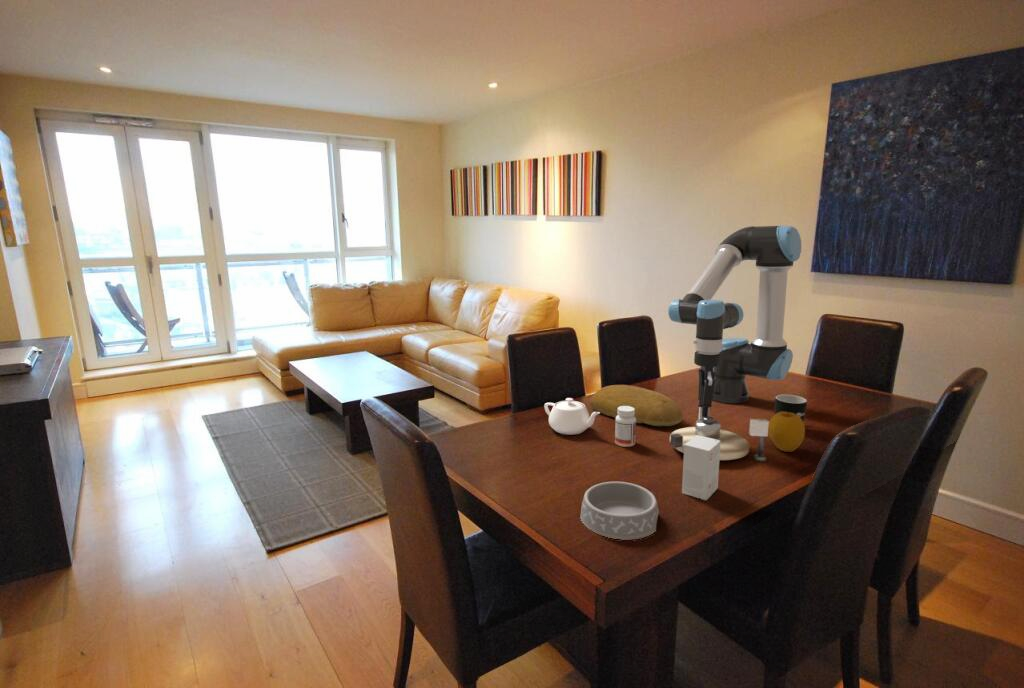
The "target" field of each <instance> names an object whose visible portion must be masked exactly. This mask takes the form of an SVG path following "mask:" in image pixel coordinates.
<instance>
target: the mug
mask: <svg viewBox="0 0 1024 688" xmlns="http://www.w3.org/2000/svg"><path fill="white" fill-rule="evenodd" d="M807 404H808V401H807V399H806V398H804V397H803V396H799V395H793V394H778V395H776V396H775V399H774V415H775V414H777V413H779V412H790V413H794V414H796V415H798V416H799V417H800V418H801V420H802V421H803V422H804V419H805V416H806V410H807Z"/></svg>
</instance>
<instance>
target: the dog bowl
mask: <svg viewBox="0 0 1024 688" xmlns="http://www.w3.org/2000/svg"><path fill="white" fill-rule="evenodd" d="M579 515H580V517H579V520H580V519H581V520H580V522H581V521H582V522H581V524H582V523H583V524H584V525H585V526H586V527H587V528H588V529H587V528H586V527H585V526H584V525H583V524H582V525H583V526H584V527H585V528H586V529H587V530H589V529H590V530H592V531H593V532H595V533H597V534H599V535H602V536H605V537H608V538H607V539H609V538H613V539H621V540H630V539H631V540H632V539H639V538H643V537H646V536H649V535H651V534H653V533H654V532H656V533H657V523H658V517H659V516H660V509H659V507H658V501H657V498H656V497H655V495H654V494H653V492H651V491H649V489H647V488H645V487H643V486H641V485H639V484H635V483H631V482H625V481H605V482H601V483H597V484H595V485H592V486H591V487H590V488H588V489H586V491H585V493H584V495H583V499H582V502H581V509H580V514H579ZM658 515H659V516H658ZM590 530H589V531H590ZM592 531H591V532H592ZM593 532H592V533H593ZM595 533H594V534H595ZM597 534H596V535H597ZM599 535H598V536H599ZM653 535H654V534H653ZM602 536H601V537H602ZM651 536H652V535H651ZM605 537H604V538H605ZM649 537H650V536H649ZM613 539H612V540H613ZM621 540H620V541H621Z"/></svg>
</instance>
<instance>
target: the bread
mask: <svg viewBox="0 0 1024 688" xmlns="http://www.w3.org/2000/svg"><path fill="white" fill-rule="evenodd" d="M589 404H590V406H591V407H592V408H593V410H595V412H600V413H599V414H603V415H605V416H607V417H611V418H613V419H616V416H617V415H618V414H617V410H618V407H620V406H630V407H633V408H634V409H635V415H634V416H635V418H636V424H645V425H650V426H653V427H663V426H664V427H672V426H677V425H678V424H680V423H681V422H682V420H683V418H684V412H683V410H682V408H681V407H680V405H679V404H677V403H676V402H675V401H674V400H672V399H671V398H669V397H668V396H666V395H664V394H663V393H661V392H657V391H655V390H652V389H647V388H644V387H640V386H635V385H629V384H612V385H606V386H604V387H601V388H599V389H598V390H596V392H594V394H593V395H591V397H590V399H589Z"/></svg>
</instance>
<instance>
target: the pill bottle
mask: <svg viewBox="0 0 1024 688" xmlns="http://www.w3.org/2000/svg"><path fill="white" fill-rule="evenodd" d="M617 414H618V415H617V416H616V418H615V425H614V426H615V427H614V428H615V431H614V442H615V445H618V446H620V447H625V448H626V447H627V448H628V447H629V448H630V447H633V446H635V445H636V440H637V439H636V437H637V436H636V435H637V423H636V418H635V416H634V415H635V409H634V408H633V407H630V406H620V407H618V410H617Z"/></svg>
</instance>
